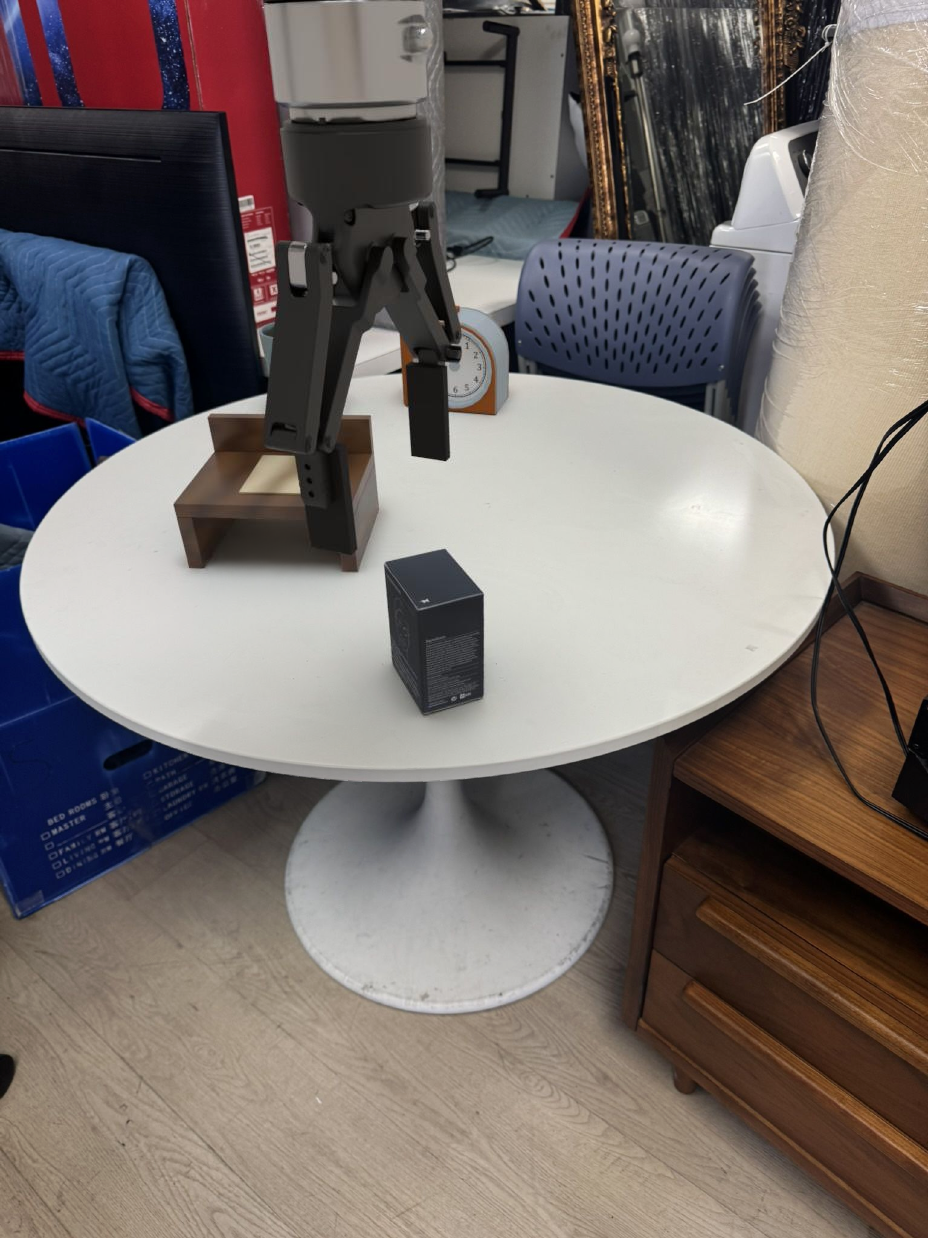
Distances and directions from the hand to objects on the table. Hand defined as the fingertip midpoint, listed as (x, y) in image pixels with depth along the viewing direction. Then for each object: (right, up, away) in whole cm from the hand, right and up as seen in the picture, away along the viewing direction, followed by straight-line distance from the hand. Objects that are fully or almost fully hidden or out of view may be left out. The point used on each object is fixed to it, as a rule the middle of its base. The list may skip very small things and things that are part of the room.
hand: (387, 498), depth 53 cm
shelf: (-14, +1, +38) cm, 41 cm away
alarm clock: (+4, +25, +71) cm, 76 cm away
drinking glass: (-19, +23, +70) cm, 76 cm away
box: (+3, -13, +17) cm, 22 cm away
